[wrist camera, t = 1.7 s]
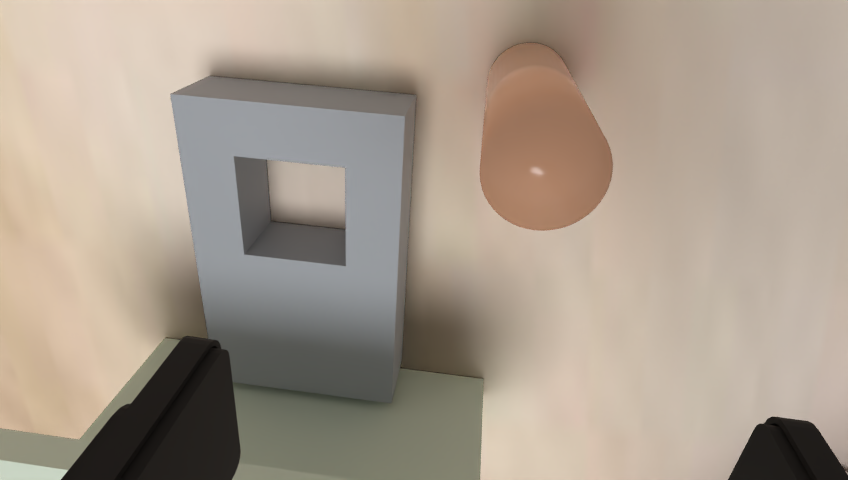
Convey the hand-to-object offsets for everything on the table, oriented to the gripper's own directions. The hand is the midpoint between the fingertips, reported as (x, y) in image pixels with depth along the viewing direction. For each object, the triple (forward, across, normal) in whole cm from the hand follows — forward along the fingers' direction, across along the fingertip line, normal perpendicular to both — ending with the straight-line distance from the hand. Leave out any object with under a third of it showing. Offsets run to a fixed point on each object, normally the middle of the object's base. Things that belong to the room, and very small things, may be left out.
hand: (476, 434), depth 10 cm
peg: (+21, -2, -2) cm, 21 cm away
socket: (+21, +9, +8) cm, 24 cm away
